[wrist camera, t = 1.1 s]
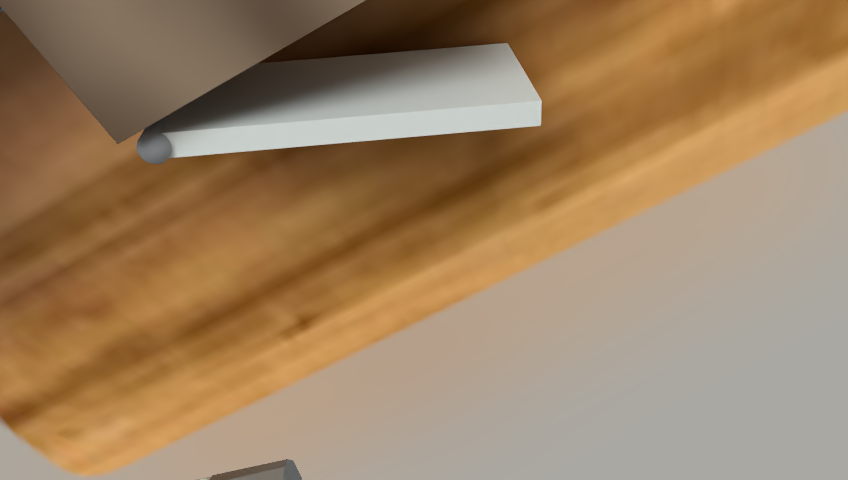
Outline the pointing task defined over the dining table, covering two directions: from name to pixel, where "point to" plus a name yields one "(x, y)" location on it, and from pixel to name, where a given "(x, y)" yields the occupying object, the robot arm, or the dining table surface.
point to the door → (350, 102)
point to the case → (159, 48)
